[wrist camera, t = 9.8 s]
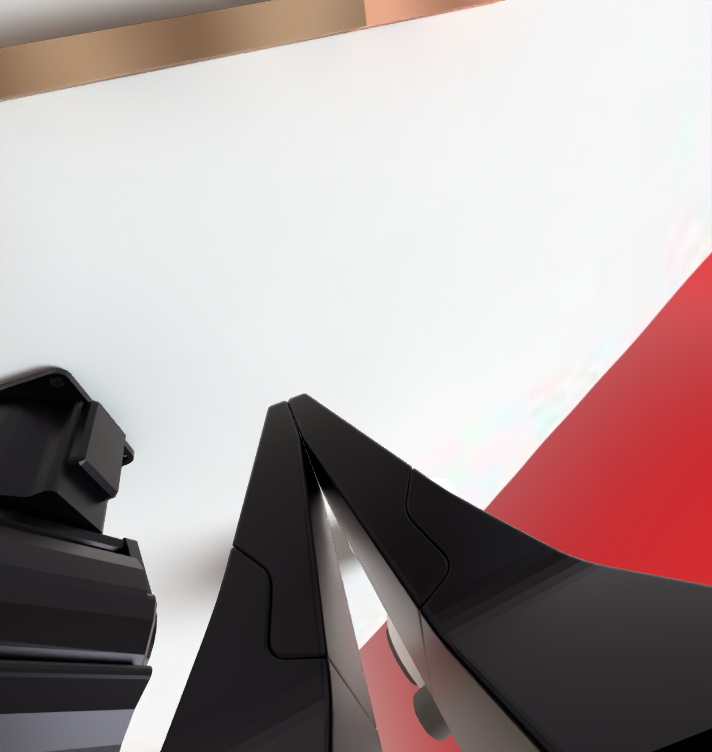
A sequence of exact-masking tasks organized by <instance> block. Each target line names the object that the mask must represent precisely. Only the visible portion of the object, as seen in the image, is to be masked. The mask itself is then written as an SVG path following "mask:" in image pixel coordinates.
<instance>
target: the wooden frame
mask: <svg viewBox="0 0 712 752" xmlns="http://www.w3.org/2000/svg"><path fill="white" fill-rule="evenodd" d="M500 1H503V0H272V1H266V2H260V3H254V4H249V5H243V6H237V7H232V8H226V9H220V10H215V11H209V12H203V13H197V14H192V15H186V16H180V17H175V18H169V19H163V20H157V21H152V22H146V23H140V24H135V25H129V26H123V27H118V28H112V29H106V30H100V31H95V32H89V33H83V34H78V35H72V36H66V37H60V38H55V39H49V40H43V41H38V42H32V43H26V44H21V45H15V46H9V47H3V48H0V101H5V100H10V99H15V98H20V97H25V96H31V95H36V94H41V93H46V92H51V91H56V90H61V89H66V88H71V87H76V86H81V85H86V84H91V83H96V82H101V81H106V80H111V79H116V78H121V77H126V76H131V75H136V74H141V73H146V72H151V71H156V70H161V69H166V68H171V67H176V66H181V65H186V64H191V63H197V62H202V61H207V60H212V59H217V58H222V57H227V56H232V55H237V54H242V53H247V52H252V51H257V50H262V49H267V48H272V47H277V46H282V45H287V44H292V43H297V42H302V41H307V40H312V39H317V38H322V37H327V36H332V35H337V34H342V33H347V32H352V31H357V30H363V29H368V28H373V27H378V26H383V25H388V24H393V23H398V22H403V21H408V20H413V19H418V18H423V17H428V16H433V15H438V14H443V13H448V12H453V11H458V10H463V9H468V8H473V7H478V6H483V5H488V4H493V3H496V2H500Z"/></svg>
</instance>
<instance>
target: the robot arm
mask: <svg viewBox="0 0 712 752" xmlns="http://www.w3.org/2000/svg"><path fill="white" fill-rule="evenodd" d="M53 378H61V379H62V380H63V382H57V381H55V380H53ZM288 403H289V404H288ZM289 406H290V407H289ZM291 411H292V412H291ZM294 419H295V420H294ZM297 427H298V428H297ZM299 432H300V433H299ZM300 435H301V436H300ZM125 438H126V435H125V434H124V432H123V431H122V430H121V429H120V427H119V426H118V425H117V424H116V422H115V421H114V420H113V419H112V417H111V416H110V415H109V414H108V413H107V411H106V410H105V409H104V408H103V406H102V405H101V404H100V403H99V402H97V401H94V400H92V399H91V398H90V397H89V395H88V394H87V393H86V392H85V391H84V389H83V388H82V387H81V386H80V385H79V383H78V382H77V381H76V380H75V378H74V377H73V376H72V375H71V374H70V373H69V372H68V371H67V370H64V369H60V368H55V369H50V370H47V371H44V372H41V373H38V374H35V375H32V376H29V377H26V378H23V379H19V380H16V381H13V382H10V383H7V384H4V385H1V386H0V752H119V751H120V748H121V744H122V741H123V739H124V736H125V733H126V731H127V728H128V725H129V723H130V720H131V717H132V715H133V712H134V709H135V707H136V705H137V703H138V701H139V699H140V697H141V695H142V693H143V691H144V689H145V687H146V685H147V683H148V681H149V680H150V677H151V675H152V667H151V666H147V663H148V661H149V658H150V655H151V652H152V648H153V645H154V640H155V634H156V627H157V614H156V608H157V603H156V598H155V596H154V595H153V594H152V593H151V589H150V585H149V582H148V578H147V575H146V571H145V568H144V564H143V561H142V557H141V554H140V550H139V547H138V543H137V541H135V540H132V539H128V538H123V539H118V538H114V537H111V536H107V535H103V528H104V521H105V515H106V509H107V502H108V500H109V499H112V498H114V497H116V494H117V492H118V489H119V481H120V474H121V467H122V466H124V465H127V464H129V463H131V462H132V461H133V458H134V451H133V449H132V448H131V447H130V445H129V444H128V443H127V442H126V441H125ZM302 440H303V441H302ZM303 443H304V444H303ZM305 448H306V449H305ZM306 451H307V452H306ZM123 455H126V456H125V457H123ZM308 456H309V457H308ZM309 459H310V460H309ZM311 464H312V465H311ZM313 469H314V470H313ZM314 472H315V473H314ZM316 477H317V478H316ZM317 480H318V481H317ZM319 485H320V486H319ZM320 487H321V489H320ZM321 490H322V492H323V494H324V496H325V498H326V500H327V502H328V504H329V506H330V508H331V510H332V512H333V513H334V515H335V517H336V519H337V521H338V523H339V525H340V526H341V528H342V530H343V532H344V534H345V536H346V538H347V539H348V541H349V543H350V545H351V547H352V549H353V551H354V552H355V554H356V556H357V558H358V560H359V562H360V564H361V566H362V567H363V569H364V571H365V573H366V575H367V577H368V579H369V580H370V582H371V584H372V586H373V588H374V590H375V592H376V593H377V595H378V597H379V599H380V601H381V603H382V605H383V606H384V608H385V610H386V612H387V614H388V616H389V618H390V619H391V621H392V623H393V625H394V627H395V629H396V631H397V632H398V634H399V636H400V638H401V640H402V642H403V644H404V646H405V647H406V649H407V651H408V653H409V655H410V657H411V659H412V660H413V662H414V664H415V666H416V668H417V670H418V672H419V673H420V675H421V677H422V679H423V681H424V683H425V685H426V686H427V688H428V690H429V692H430V694H431V695H432V696H433V699H434V701H435V703H436V705H437V707H438V709H439V711H440V713H441V714H442V716H443V718H444V720H445V722H446V724H447V726H448V727H449V729H450V731H451V733H452V735H453V737H454V739H455V741H456V742H457V744H458V746H459V748H460V750H461V751H462V752H712V586H710V585H705V584H700V583H694V582H689V581H684V580H678V579H673V578H668V577H663V576H657V575H652V574H647V573H641V572H636V571H631V570H626V569H620V568H615V567H610V566H605V565H600V564H596V563H592V562H589V561H585V560H582V559H580V558H577V557H574V556H571V555H569V554H566V553H564V552H562V551H559V550H557V549H555V548H553V547H551V546H549V545H547V544H545V543H543V542H542V541H539V540H538V539H536V538H534V537H532V536H530V535H528V534H526V533H525V532H523V531H521V530H519V529H517V528H515V527H513V526H511V525H509V524H507V523H506V522H504V521H502V520H500V519H498V518H496V517H494V516H492V515H491V514H489V513H487V512H485V511H483V510H481V509H479V508H477V507H476V506H474V505H472V504H470V503H469V502H467V501H465V500H463V499H461V498H460V497H458V496H456V495H454V494H453V493H451V492H449V491H448V490H446V489H445V488H443V487H442V486H440V485H438V484H437V483H435V482H434V481H432V480H431V479H429V478H428V477H426V476H425V475H423V474H422V473H421V472H419V471H418V470H416V469H412V467H411V466H410V465H409V464H407V463H406V462H404V461H403V460H401V459H400V458H399V457H397V456H396V455H394V454H393V453H391V452H390V451H388V450H387V449H386V448H384V447H383V446H381V445H380V444H378V443H377V442H375V441H374V440H372V439H371V438H370V437H368V436H367V435H365V434H364V433H362V432H361V431H359V430H358V429H357V428H355V427H354V426H352V425H351V424H349V423H348V422H346V421H345V420H344V419H342V418H341V417H339V416H338V415H336V414H335V413H333V412H332V411H331V410H329V409H328V408H326V407H325V406H323V405H322V404H320V403H319V402H318V401H316V400H315V399H313V398H312V397H310V396H309V395H307V394H301V395H298V396H296V397H293V398H290V399H289V401H288V402H287V401H282V402H280V403H277V404H274V405H272V406H270V407H269V408H268V411H267V415H266V419H265V423H264V426H263V430H262V434H261V438H260V442H259V445H258V449H257V453H256V457H255V461H254V464H253V468H252V472H251V476H250V480H249V484H248V487H247V491H246V495H245V499H244V503H243V506H242V510H241V514H240V518H239V522H238V525H237V529H236V533H235V537H234V541H233V547H234V548H232V549H231V551H230V555H229V559H228V563H227V567H226V571H225V574H224V577H223V581H222V584H221V588H220V591H219V594H218V598H217V601H216V604H215V607H214V610H213V613H212V615H211V618H210V621H209V624H208V627H207V630H206V632H205V635H204V638H203V641H202V643H201V646H200V649H199V651H198V654H197V657H196V659H195V662H194V665H193V667H192V670H191V672H190V675H189V678H188V680H187V683H186V686H185V688H184V691H183V694H182V696H181V699H180V702H179V704H178V707H177V710H176V712H175V715H174V717H173V720H172V723H171V725H170V728H169V731H168V733H167V736H166V739H165V741H164V744H163V746H162V749H161V751H160V752H382V748H381V744H380V740H379V735H378V731H377V730H376V723H375V718H374V714H373V710H372V706H371V701H370V697H369V693H368V688H367V684H366V680H365V676H364V671H363V667H362V662H361V658H360V654H359V650H358V645H357V641H356V637H355V632H354V628H353V624H352V620H351V615H350V611H349V607H348V602H347V598H346V594H345V589H344V585H343V581H342V577H341V572H340V568H339V564H338V559H337V555H336V551H335V547H334V542H333V538H332V534H331V529H330V525H329V521H328V517H327V512H326V508H325V504H324V500H323V496H322V492H321Z"/></svg>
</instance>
